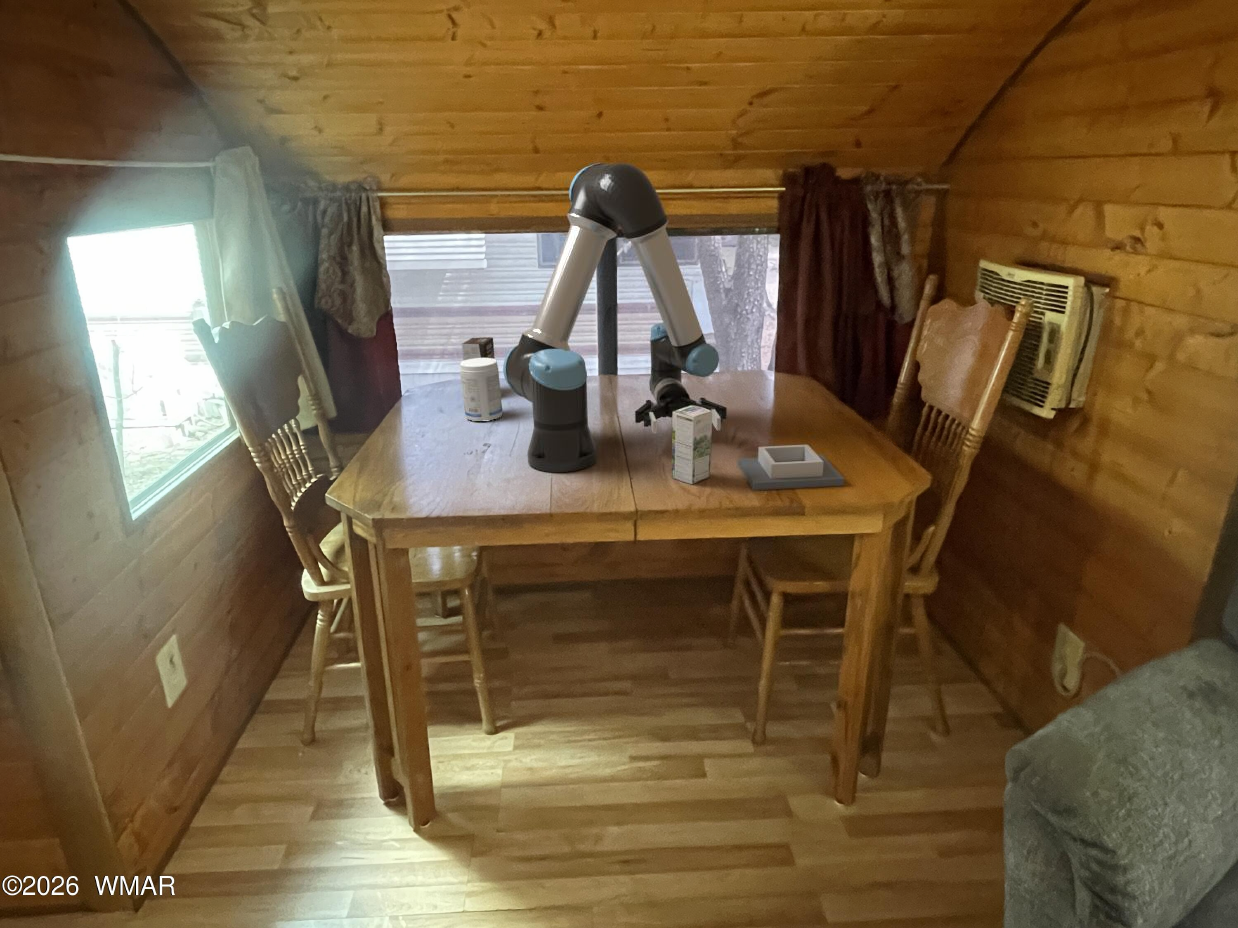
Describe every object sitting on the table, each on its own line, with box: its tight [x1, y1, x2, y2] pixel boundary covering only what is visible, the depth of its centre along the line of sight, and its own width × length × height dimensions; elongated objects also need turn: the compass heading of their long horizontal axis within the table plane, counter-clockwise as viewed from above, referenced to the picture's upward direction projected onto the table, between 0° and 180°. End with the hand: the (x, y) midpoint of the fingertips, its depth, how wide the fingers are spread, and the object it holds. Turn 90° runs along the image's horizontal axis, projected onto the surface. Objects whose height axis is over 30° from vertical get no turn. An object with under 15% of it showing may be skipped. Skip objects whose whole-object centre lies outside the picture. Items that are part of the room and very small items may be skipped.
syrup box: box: [671, 406, 713, 485], centre depth 159 cm, size 6×6×14 cm
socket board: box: [737, 444, 845, 491], centre depth 161 cm, size 18×14×4 cm
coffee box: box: [461, 336, 496, 361], centre depth 220 cm, size 9×6×16 cm
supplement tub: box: [459, 358, 503, 422], centre depth 201 cm, size 10×10×15 cm
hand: (687, 425), depth 166 cm, fingers open, 13 cm apart
